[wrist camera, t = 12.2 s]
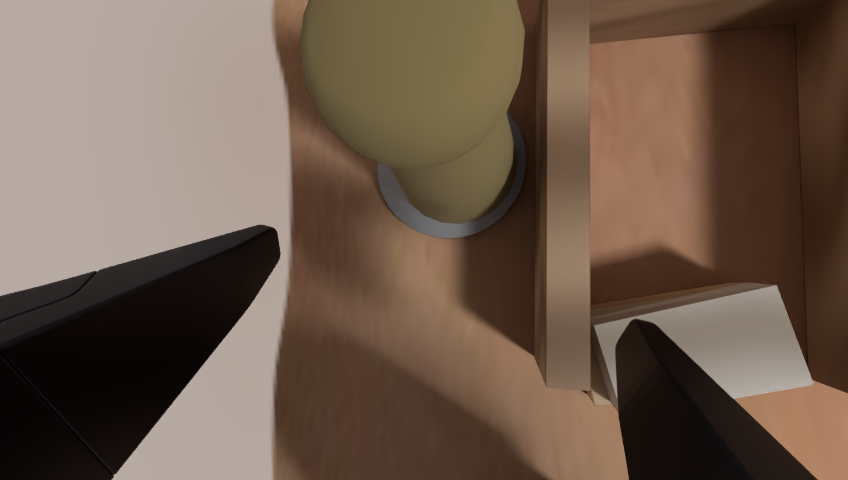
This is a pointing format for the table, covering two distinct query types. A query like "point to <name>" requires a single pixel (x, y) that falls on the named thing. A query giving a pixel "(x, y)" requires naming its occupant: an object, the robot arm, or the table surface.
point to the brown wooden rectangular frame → (570, 163)
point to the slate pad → (449, 230)
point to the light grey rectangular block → (707, 337)
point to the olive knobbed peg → (421, 93)
